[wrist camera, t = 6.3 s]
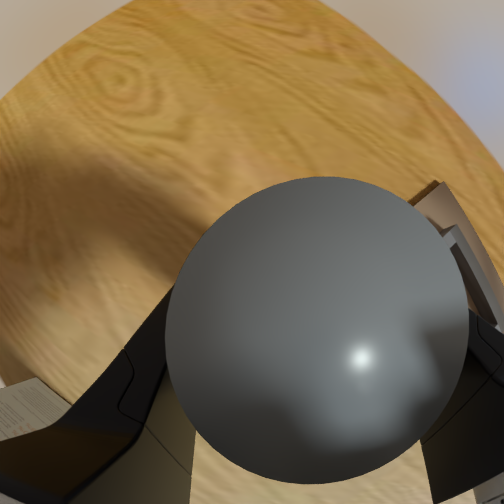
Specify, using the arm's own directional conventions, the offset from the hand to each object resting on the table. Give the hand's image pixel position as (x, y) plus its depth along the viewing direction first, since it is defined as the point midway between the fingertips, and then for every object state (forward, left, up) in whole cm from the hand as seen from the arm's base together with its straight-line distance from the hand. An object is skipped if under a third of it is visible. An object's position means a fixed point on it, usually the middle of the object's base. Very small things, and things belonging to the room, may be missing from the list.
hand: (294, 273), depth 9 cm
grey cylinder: (-1, -1, -7) cm, 7 cm away
